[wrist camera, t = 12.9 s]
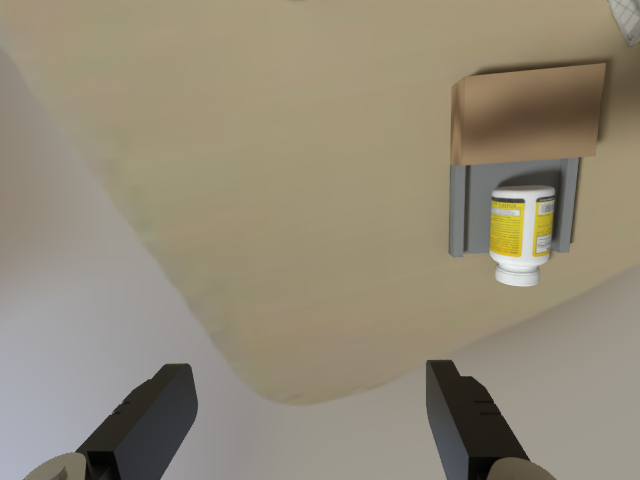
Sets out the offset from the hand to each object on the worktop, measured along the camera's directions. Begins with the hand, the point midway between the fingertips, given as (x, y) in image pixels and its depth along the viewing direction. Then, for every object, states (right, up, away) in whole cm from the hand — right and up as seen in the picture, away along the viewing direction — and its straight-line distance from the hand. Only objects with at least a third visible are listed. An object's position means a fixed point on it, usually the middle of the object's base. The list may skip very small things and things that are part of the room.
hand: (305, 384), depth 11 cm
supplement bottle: (+21, +10, +21) cm, 32 cm away
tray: (+21, +9, +25) cm, 34 cm away
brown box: (+20, +17, +23) cm, 35 cm away
